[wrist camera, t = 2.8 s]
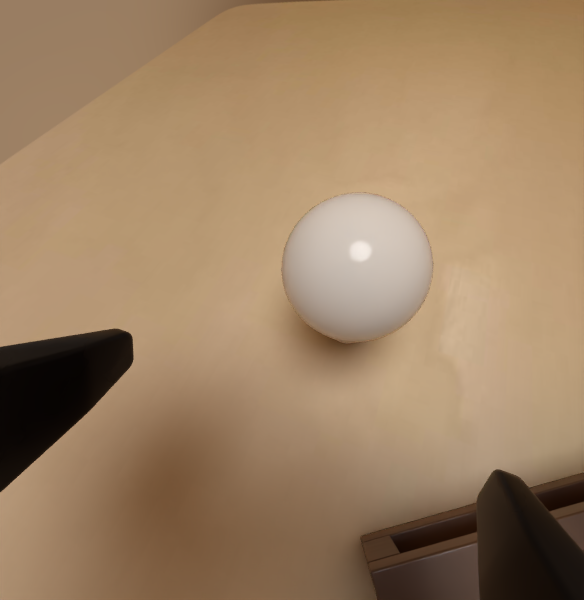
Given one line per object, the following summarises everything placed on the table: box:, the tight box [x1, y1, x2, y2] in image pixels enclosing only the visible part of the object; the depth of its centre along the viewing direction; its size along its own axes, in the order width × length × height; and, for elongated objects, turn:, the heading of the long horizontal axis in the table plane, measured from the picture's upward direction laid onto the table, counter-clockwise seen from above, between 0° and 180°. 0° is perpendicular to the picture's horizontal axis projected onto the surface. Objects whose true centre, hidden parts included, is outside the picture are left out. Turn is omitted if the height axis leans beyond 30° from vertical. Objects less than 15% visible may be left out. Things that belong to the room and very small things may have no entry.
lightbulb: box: [281, 192, 433, 344], centre depth 16 cm, size 6×6×11 cm
